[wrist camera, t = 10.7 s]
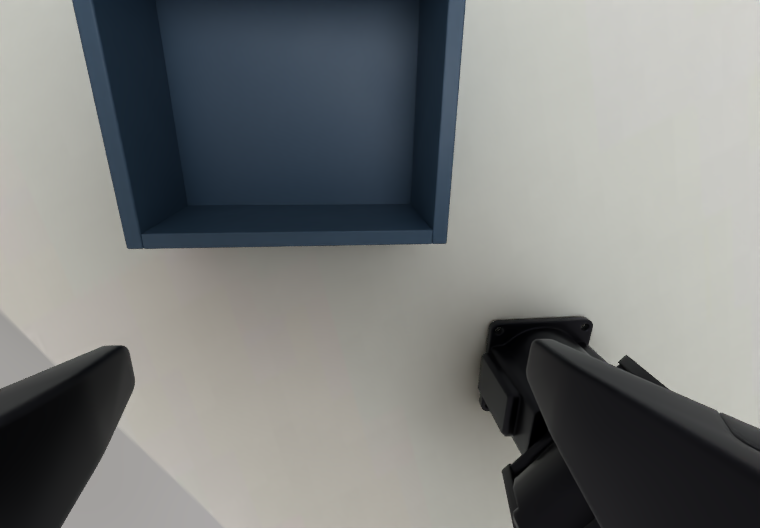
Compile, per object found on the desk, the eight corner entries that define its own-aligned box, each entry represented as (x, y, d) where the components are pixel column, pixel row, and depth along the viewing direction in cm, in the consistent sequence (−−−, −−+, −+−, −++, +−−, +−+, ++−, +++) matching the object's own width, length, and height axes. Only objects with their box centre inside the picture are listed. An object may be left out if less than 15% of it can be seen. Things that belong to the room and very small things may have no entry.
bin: (430, -12, 17) (471, -67, 12) (419, 212, 21) (446, 243, 16) (141, -28, 16) (49, -96, 11) (181, 214, 20) (126, 249, 15)
